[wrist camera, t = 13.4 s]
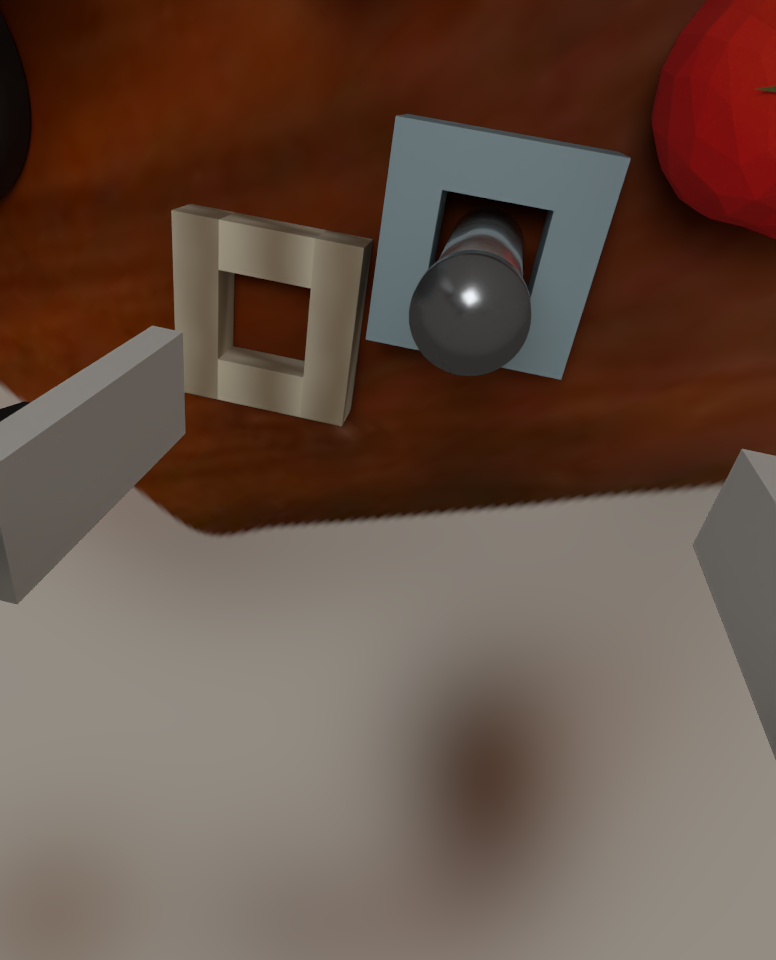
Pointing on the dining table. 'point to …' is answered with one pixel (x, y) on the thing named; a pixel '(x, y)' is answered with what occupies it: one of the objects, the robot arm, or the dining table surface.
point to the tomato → (722, 114)
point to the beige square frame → (282, 258)
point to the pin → (474, 297)
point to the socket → (505, 177)
